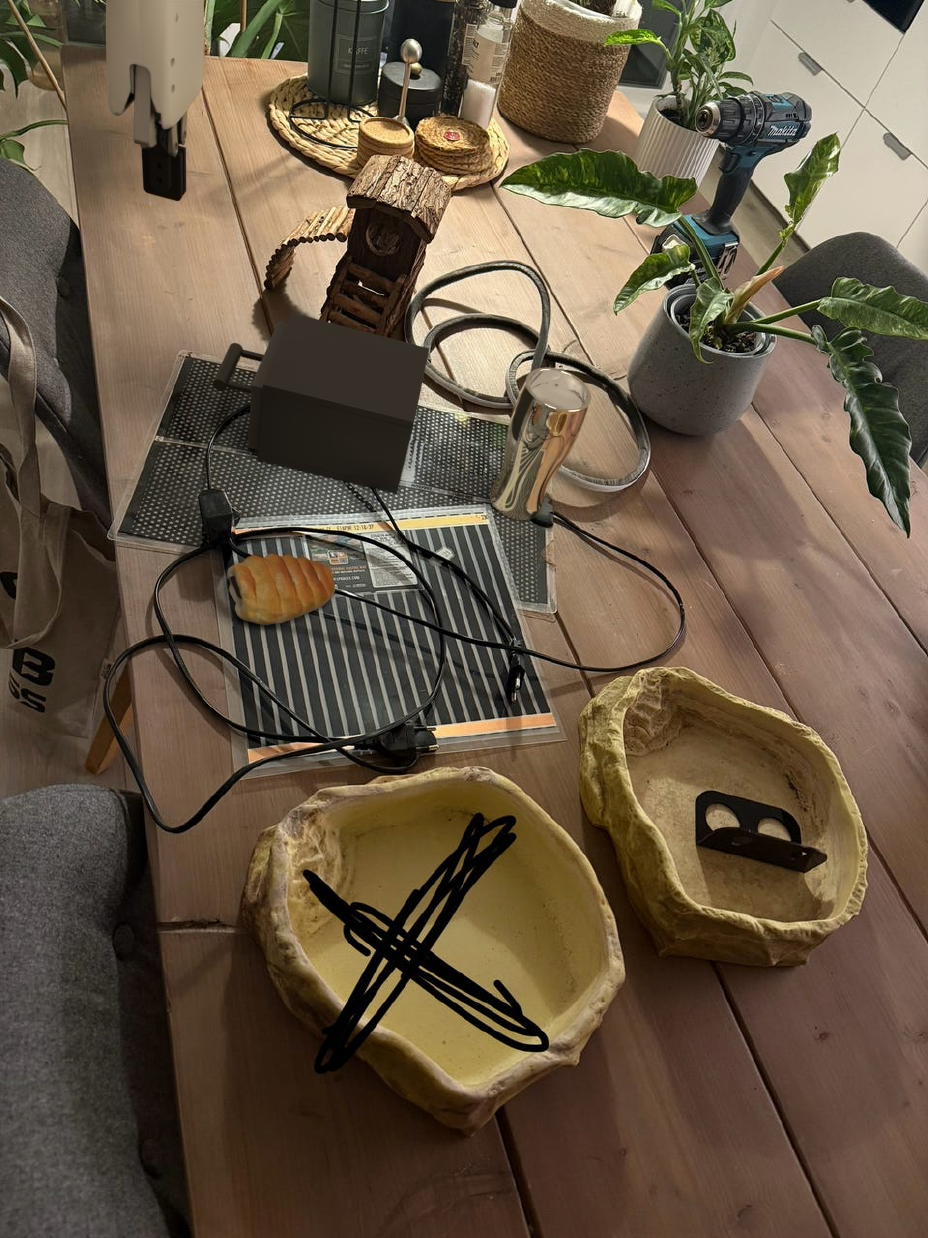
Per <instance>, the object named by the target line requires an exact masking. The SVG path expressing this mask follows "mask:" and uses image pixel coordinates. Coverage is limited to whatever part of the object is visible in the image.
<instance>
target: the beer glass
mask: <svg viewBox="0 0 928 1238" xmlns="http://www.w3.org/2000/svg"><path fill="white" fill-rule="evenodd" d="M521 387H522V388H521V389H520V391H519V394H518V396H517V399H516V401H515V403H514V406H513V409H512V412H511V415H510V418H509V422H508V425H507V426H508V427H507V432H506V439H505V446H504V453H503V454H504V455H503V461H502V466H501V469H500V471H499V474H498V476H497V477H496V479H495V480H494V481H493V483H492V486H491V487H490V488H489V494H488V495H489V496H488V497H489V501H490V503H491V505H492V506H493V508H494V509H495V510H496V511H497V512H498V513H499V514H501V515H503V516H504V517H506V518H508V519H512V520H514V521H515V520H516V521H531V520H534V519H536V518H537V517H539V516H541V515H540V514H542V512H543V510H542V509H544V507H543V506H545V500H546V494H547V491H548V487H549V485H550V483H551V482H552V480H553V478H554V477H555V476H556V474H557V472H558V471H559V469H560V468H561V467H562V465H563V464H564V462H565V461H566V460H567V459H568V456H569V454H570V453H571V452H572V450H573V448H574V446H575V444H576V442H577V440H578V437H579V436H580V432H581V430H582V428H583V425H584V422H585V419H586V415H587V412H588V409H589V406H590V404H591V401H592V394H591V393H592V392H591V391H590V389H589V387H588V386H587V384H586V383H585V382H583V380H581V379H580V378H579V377H578V376H576V375H575V374H573V373H571V372H569V371H567V370H564V369H560V368H556V367H539V368H536V369H535V368H534V369H533V370H532V371H530V372H529V373H528V374H527V375H526V378H525V381H524V383H523V386H521ZM541 511H542V512H541Z"/></svg>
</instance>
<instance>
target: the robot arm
mask: <svg viewBox="0 0 928 1238" xmlns="http://www.w3.org/2000/svg"><path fill="white" fill-rule="evenodd" d="M204 2H205V1H204V0H106V1H105V53H106V54H105V55H106V56H105V59H106V60H105V61H106V87H107V88H106V89H107V91H106V92H107V105H108V109H109V111H110V113H111V114H112V116H116V117H120V116H122V115H123V114H124V113H125V112H126V111H127V109H129V107H130V106H131V105H132V104H134V105H133V106H134V108H133V143H134V144H137V145H139V146H140V149H141V167H142V168H141V169H142V170H141V171H142V189H143V191H144V192H145V193H146V194H149V195H152V196H155V197H160V198H164V199H167V200H170V201H174V202H180V201H181V200H182V199H183V196H184V195H185V194H186V192H187V147H186V146H185V144H186V141H187V130H188V128H187V127H188V110H189V108H190V107H191V106H192V105H193V104H194V101H195V100H196V99H197V97H198V96H199V95H200V93H201V90H202V88H203V84H204V75H205V57H206V55H205V54H206V53H205V52H206V48H205V47H206V44H205V43H206V40H205V39H206V38H205V37H206V36H205V34H206V33H205V3H204ZM184 146H185V147H184Z"/></svg>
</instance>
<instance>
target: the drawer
mask: <svg viewBox="0 0 928 1238" xmlns="http://www.w3.org/2000/svg"><path fill="white" fill-rule="evenodd" d="M287 324H288V322H286V321H282V320H278V321H277V323H276V325H275V327H274V330H273V333H272V335H271V337H270V340H269V342H268V344H267V347H266V349H265V351H264V354H262V353H259V352H254V351H250V350H247V349H244V348H243V346H242V345H241V344H240V343H237V342H232V343H230V345H229V347H228V349H227V351H226V353H225V356H224V358H223V359H222V362H221V364H220V366H219V368H218V370H217V373H216V374H215V377H214V379H213V381H212V386H213V388H214V389H215V390H216V391H219V392H224V391H226V390H227V389H228V390H232V391H237V392H241V393H245V394H249V395H250V400H249V401H250V403H249V417H248V418H249V419H248V433H247V435H248V436H247V448H250V449H253V450H258V448H259V434H260V420H261V406H262V391H263V383H264V380H265V378H266V375H267V373H268V370H269V368H270V366H271V363H272V361H273V358H274V356H275V353H276V351H277V348H278V346H279V343H280V341H281V338H282V336H283V333H284V331H285V328H286V326H287ZM241 358H243V359H248V360H251V361H256V362H260V363H259V365H258V368H257V371H256V372H255V374H254V375H255V376H254V378H253V380H252V382H251V385H248V384H244V383H240V382H237V381H233V380H231V379H232V377H233V375H234V373H235V371H236V368H237V366H238V364H239V361H240V359H241Z"/></svg>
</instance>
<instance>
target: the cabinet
mask: <svg viewBox="0 0 928 1238" xmlns="http://www.w3.org/2000/svg"><path fill="white" fill-rule="evenodd" d="M287 323H288V324H287V326H286V328H285V331H284V333H283V336H282V338H281V341H280V343H279V346H278V348H277V351H276V353H275V356H274V358H273V361H272V363H271V366H270V368H269V370H268V373H267V375H266V378H265V380H264V383H263V391H262V406H261V420H260V434H259V448H258V449H257V461H258V462H263V463H267V464H271V465H276V466H278V467H284V468H287V469H292V470H297V471H301V472H305V473H309V474H313V475H317V476H320V477H325V478H329V479H333V480H337V481H341V482H342V481H343V482H345V483H346V482H347V483H351V484H355V485H359V486H363V487H367V488H371V489H376V490H379V491H384V492H387V493H392V494H398V492H399V488H400V483H401V479H402V475H403V472H404V466H405V462H406V459H407V454H408V450H409V445H410V441H411V439H412V434H413V429H414V424H415V420H416V415H417V411H418V406H419V401H420V397H421V391H422V388H423V387H422V386H423V383H424V382H423V381H424V377H425V373H426V367H427V362H428V358H429V352H430V348H429V347H425V346H421V345H418V344H413V343H410V342H406V341H403V340H398V339H395V338H391V337H387V336H383V335H379V334H375V333H372V332H368V331H364V330H361V329H356V328H352V327H348V326H344V325H342V324H341V325H340V324H337V323H333V322H329V321H325V320H321V319H318V318H314V317H310V316H306V315H302V314H300V313H299V314H298V313H295V312H291V314H290V315H289V318H288V321H287Z"/></svg>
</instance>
